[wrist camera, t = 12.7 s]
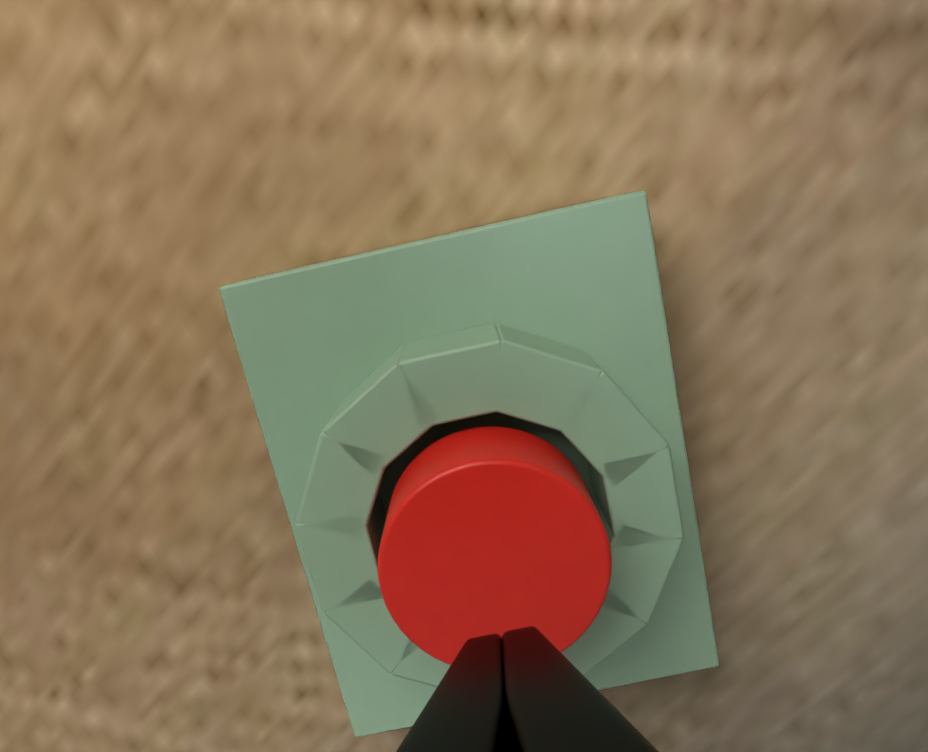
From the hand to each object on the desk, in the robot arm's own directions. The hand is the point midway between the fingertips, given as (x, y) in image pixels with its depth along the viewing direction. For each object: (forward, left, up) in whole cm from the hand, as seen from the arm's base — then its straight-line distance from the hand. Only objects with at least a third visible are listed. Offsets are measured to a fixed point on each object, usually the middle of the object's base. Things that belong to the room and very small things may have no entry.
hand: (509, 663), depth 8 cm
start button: (0, 0, -4) cm, 4 cm away
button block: (0, 0, -7) cm, 7 cm away
